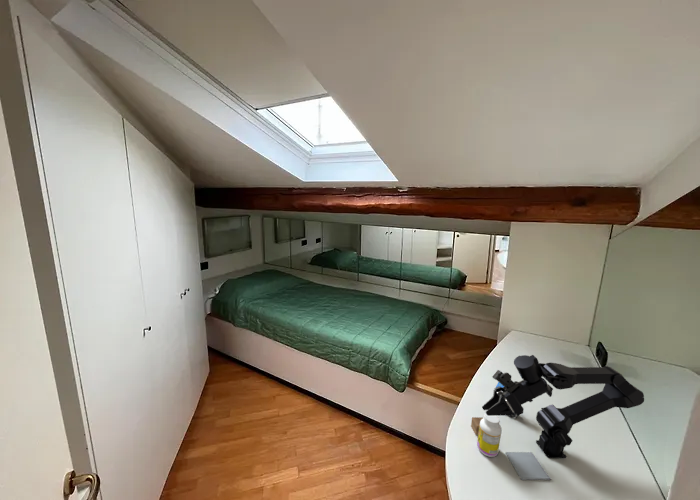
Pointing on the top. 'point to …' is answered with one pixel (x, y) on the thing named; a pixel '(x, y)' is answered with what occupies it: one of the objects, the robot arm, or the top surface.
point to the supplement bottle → (489, 435)
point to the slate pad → (527, 466)
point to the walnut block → (476, 424)
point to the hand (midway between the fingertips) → (484, 411)
